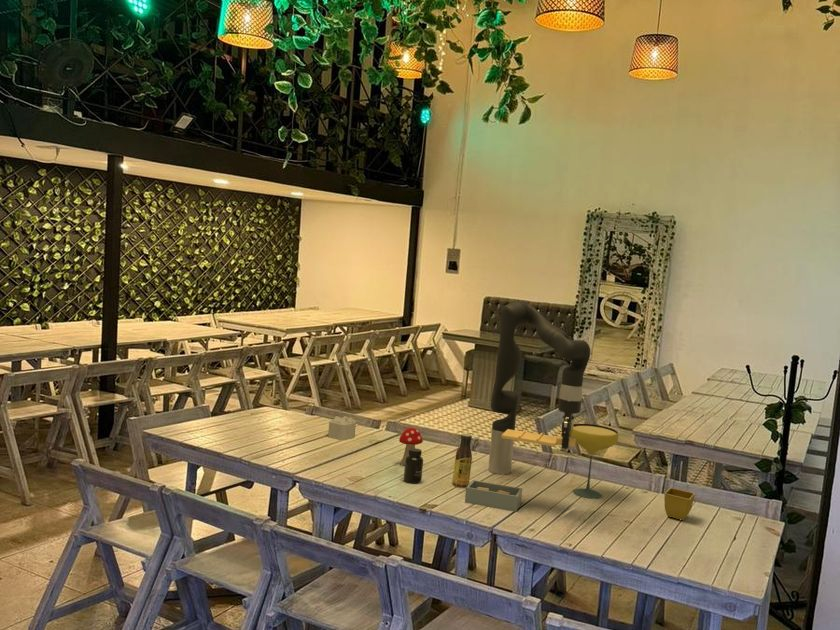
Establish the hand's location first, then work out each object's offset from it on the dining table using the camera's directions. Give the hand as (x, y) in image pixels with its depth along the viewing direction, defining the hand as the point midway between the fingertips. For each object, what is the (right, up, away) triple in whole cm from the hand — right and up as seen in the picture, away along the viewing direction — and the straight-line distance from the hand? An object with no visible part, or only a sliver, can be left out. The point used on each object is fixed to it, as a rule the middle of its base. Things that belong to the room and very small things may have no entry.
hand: (565, 446), depth 251 cm
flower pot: (+41, -27, +7) cm, 49 cm away
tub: (-25, -21, +4) cm, 33 cm away
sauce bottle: (-35, -19, +21) cm, 45 cm away
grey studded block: (-85, -10, +80) cm, 117 cm away
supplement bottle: (-53, -17, +23) cm, 60 cm away
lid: (-9, +2, +3) cm, 9 cm away
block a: (-28, -20, +5) cm, 35 cm away
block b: (-22, -20, +3) cm, 30 cm away
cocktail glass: (+13, -23, +26) cm, 37 cm away
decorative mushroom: (-55, -15, +45) cm, 72 cm away
